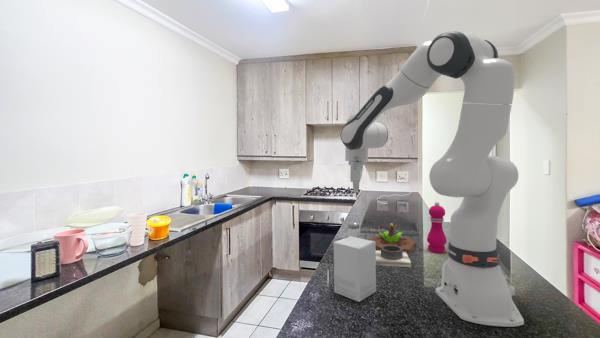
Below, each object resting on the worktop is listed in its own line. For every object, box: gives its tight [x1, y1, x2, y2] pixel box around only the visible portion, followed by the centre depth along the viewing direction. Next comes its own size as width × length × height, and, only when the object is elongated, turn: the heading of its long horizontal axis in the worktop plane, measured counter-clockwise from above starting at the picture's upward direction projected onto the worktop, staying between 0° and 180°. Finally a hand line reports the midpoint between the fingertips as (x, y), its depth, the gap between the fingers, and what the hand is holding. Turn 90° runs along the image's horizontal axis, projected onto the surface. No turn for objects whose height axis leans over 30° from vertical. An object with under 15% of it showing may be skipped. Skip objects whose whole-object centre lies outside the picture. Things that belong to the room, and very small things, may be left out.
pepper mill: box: [426, 201, 448, 254], centre depth 122 cm, size 7×7×20 cm
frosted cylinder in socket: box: [347, 220, 360, 238], centre depth 123 cm, size 5×5×12 cm
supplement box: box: [333, 236, 377, 303], centre depth 88 cm, size 9×9×15 cm
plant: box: [367, 221, 417, 255], centre depth 129 cm, size 20×20×11 cm
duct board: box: [376, 245, 412, 268], centre depth 113 cm, size 12×12×4 cm
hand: (356, 190), depth 122 cm, fingers open, 8 cm apart
